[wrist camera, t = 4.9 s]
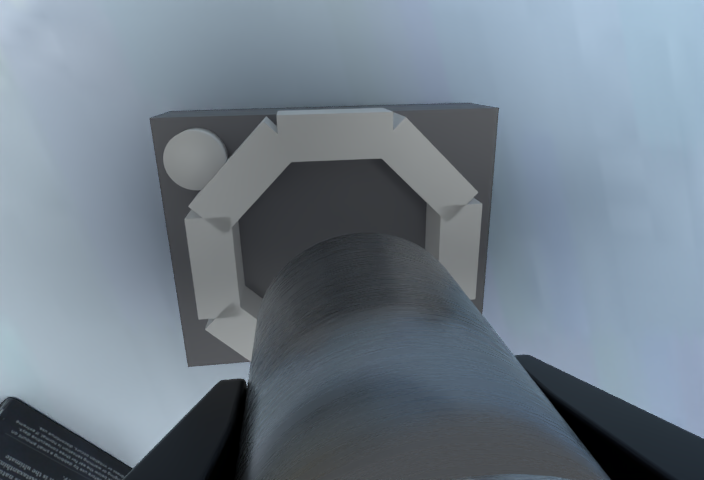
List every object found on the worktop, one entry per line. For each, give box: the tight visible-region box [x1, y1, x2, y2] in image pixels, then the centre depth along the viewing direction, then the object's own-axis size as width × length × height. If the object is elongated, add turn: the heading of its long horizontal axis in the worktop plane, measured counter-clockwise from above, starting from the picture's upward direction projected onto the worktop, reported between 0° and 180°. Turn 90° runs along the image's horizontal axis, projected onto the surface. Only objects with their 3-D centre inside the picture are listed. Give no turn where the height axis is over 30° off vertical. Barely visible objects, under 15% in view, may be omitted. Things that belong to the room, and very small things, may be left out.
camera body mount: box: [150, 103, 499, 367], centre depth 16 cm, size 10×8×4 cm
